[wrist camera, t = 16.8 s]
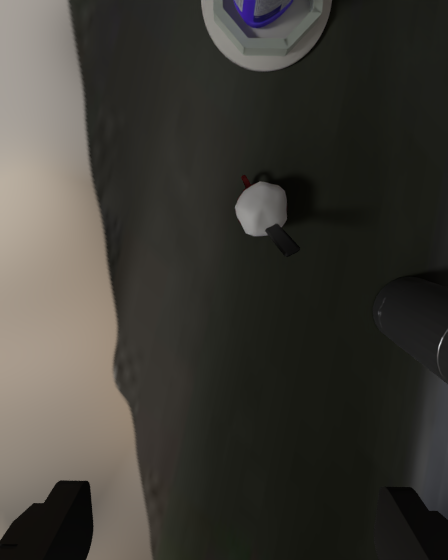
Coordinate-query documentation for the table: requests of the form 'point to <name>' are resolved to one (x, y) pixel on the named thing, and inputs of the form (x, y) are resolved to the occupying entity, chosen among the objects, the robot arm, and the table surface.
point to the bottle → (261, 11)
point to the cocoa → (265, 214)
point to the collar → (266, 34)
